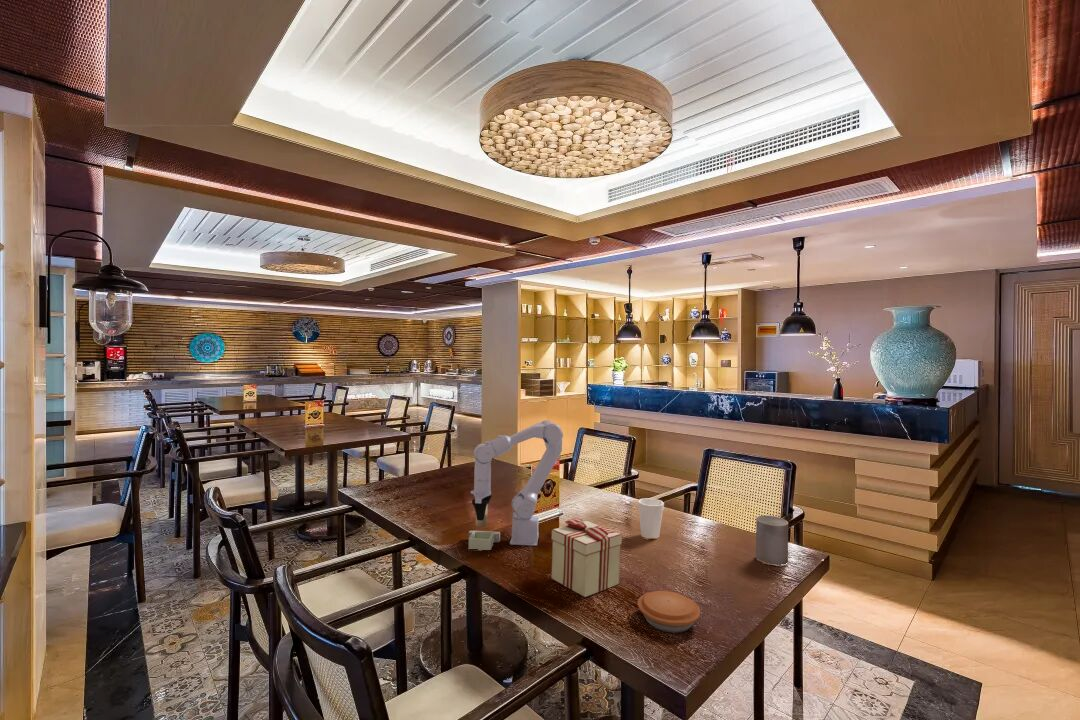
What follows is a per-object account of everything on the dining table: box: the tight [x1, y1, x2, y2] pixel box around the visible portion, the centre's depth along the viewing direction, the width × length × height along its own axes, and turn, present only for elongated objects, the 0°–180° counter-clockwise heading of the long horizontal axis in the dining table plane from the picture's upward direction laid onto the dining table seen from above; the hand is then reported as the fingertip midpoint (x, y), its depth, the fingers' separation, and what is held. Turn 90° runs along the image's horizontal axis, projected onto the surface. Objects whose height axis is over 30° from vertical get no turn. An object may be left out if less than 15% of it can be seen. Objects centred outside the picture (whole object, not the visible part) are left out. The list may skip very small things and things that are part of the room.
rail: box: [468, 530, 501, 543], centre depth 171 cm, size 11×2×3 cm, turn 87°
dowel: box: [475, 500, 489, 528], centre depth 168 cm, size 4×4×8 cm
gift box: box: [551, 517, 623, 598], centre depth 143 cm, size 17×18×17 cm
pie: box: [636, 590, 701, 633], centre depth 122 cm, size 16×16×5 cm
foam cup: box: [637, 497, 665, 538], centre depth 179 cm, size 10×9×13 cm
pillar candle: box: [755, 515, 789, 565], centre depth 160 cm, size 10×10×15 cm
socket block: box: [468, 530, 495, 551], centre depth 167 cm, size 8×8×4 cm
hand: (481, 517), depth 168 cm, fingers closed on dowel, 4 cm apart
